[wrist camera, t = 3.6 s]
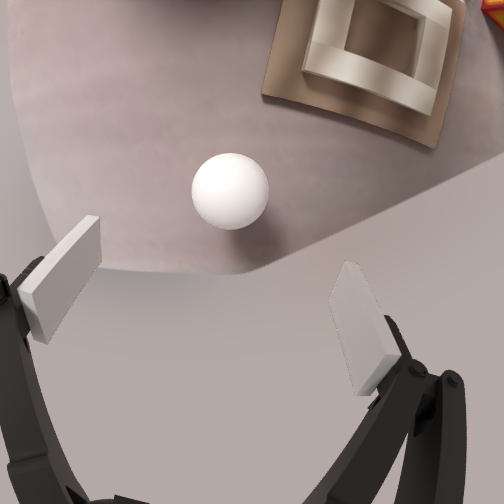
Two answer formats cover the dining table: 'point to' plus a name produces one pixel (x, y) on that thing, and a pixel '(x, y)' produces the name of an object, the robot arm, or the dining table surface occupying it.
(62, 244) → the robot arm
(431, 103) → the socket
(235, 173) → the lightbulb
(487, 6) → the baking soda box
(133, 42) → the dining table surface
